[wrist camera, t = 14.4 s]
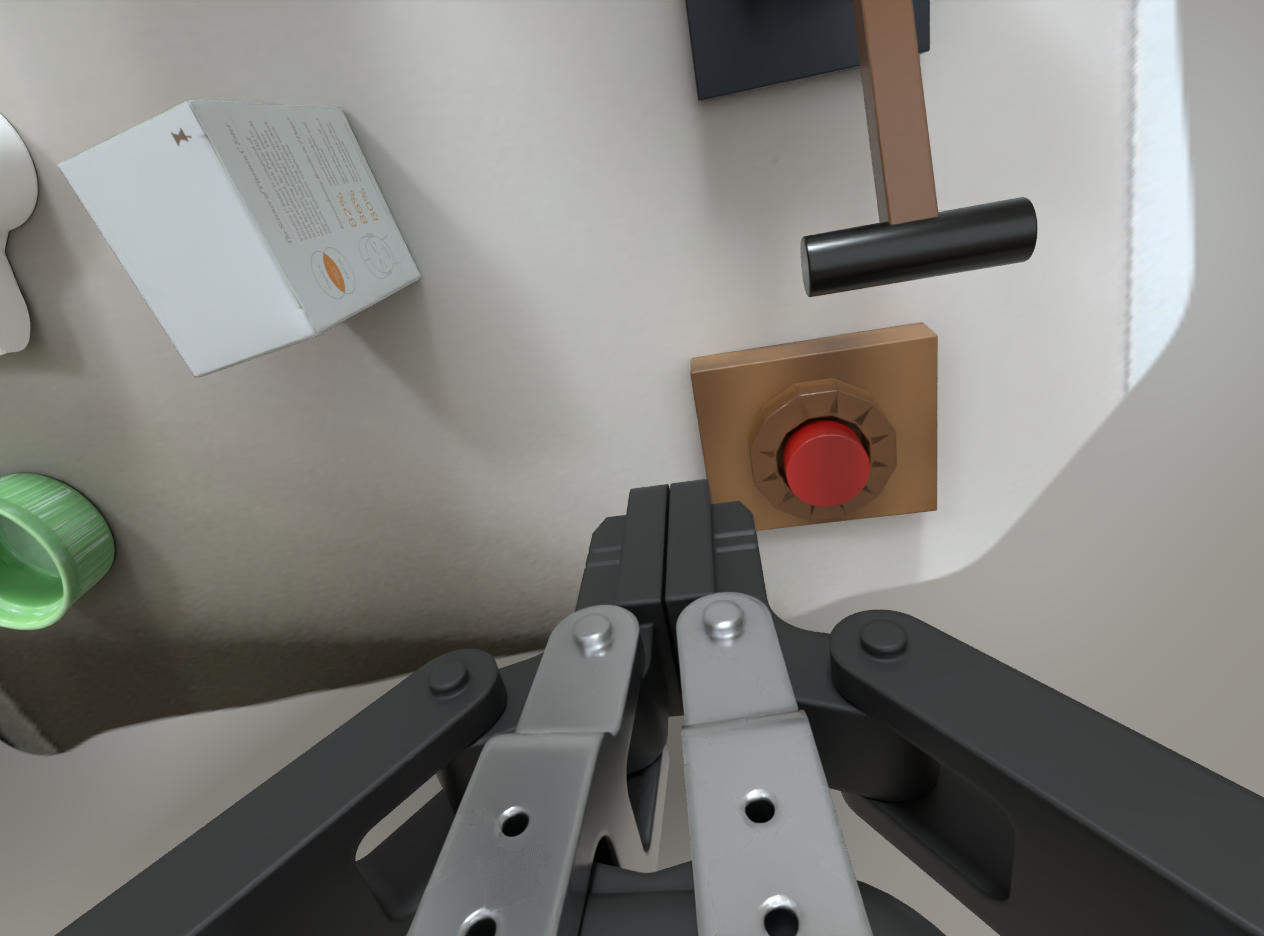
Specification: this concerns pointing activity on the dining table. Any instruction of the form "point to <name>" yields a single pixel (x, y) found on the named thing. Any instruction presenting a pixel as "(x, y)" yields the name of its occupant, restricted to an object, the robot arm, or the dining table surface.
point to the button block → (822, 390)
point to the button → (825, 463)
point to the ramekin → (47, 550)
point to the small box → (243, 224)
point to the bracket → (776, 41)
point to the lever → (908, 181)
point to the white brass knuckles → (4, 202)
